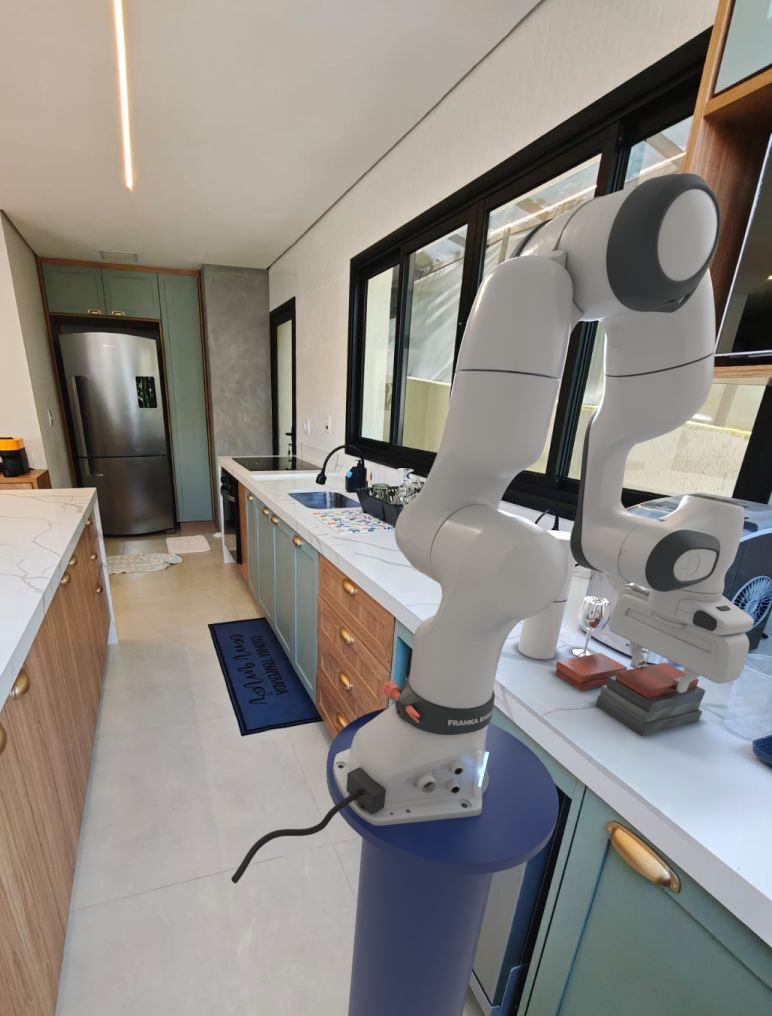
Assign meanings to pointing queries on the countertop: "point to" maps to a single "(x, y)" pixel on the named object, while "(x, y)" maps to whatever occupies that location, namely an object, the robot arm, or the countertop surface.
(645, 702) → the grey books
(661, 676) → the rust booklet
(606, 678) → the rust books
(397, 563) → the countertop surface
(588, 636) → the wineglass
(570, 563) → the cylindrical container
